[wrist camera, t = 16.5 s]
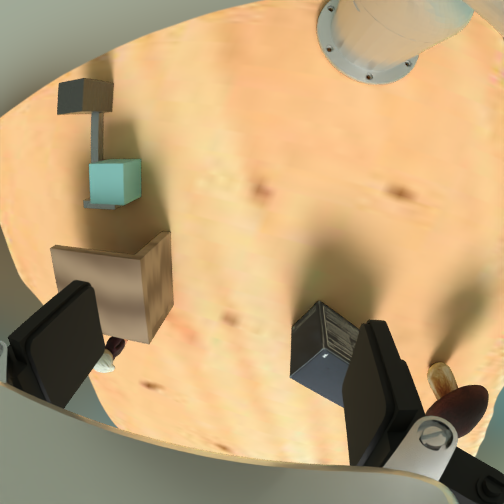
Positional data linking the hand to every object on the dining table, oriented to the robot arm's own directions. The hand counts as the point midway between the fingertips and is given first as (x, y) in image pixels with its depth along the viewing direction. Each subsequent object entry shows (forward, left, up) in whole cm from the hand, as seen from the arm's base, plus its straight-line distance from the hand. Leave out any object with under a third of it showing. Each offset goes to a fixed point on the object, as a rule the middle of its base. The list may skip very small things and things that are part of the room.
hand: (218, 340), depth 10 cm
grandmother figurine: (+22, -20, -31) cm, 42 cm away
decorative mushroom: (+26, +30, -30) cm, 50 cm away
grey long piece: (-5, -22, -30) cm, 38 cm away
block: (0, -19, -30) cm, 36 cm away
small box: (+20, +10, -31) cm, 38 cm away
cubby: (+13, -19, -30) cm, 38 cm away
